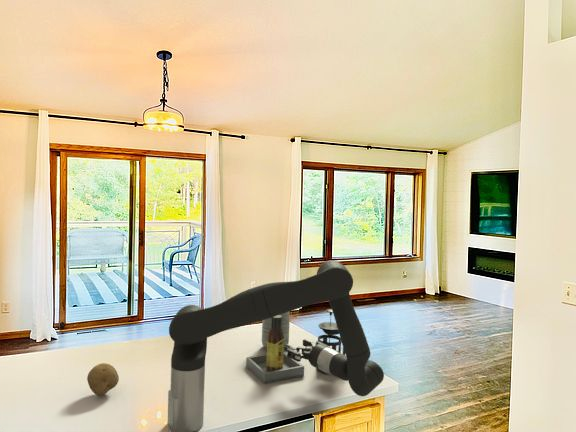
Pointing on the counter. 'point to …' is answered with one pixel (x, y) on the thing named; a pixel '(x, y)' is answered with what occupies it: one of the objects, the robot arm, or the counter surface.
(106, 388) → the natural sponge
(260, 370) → the tray
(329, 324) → the french press
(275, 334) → the sauce bottle
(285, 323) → the vase
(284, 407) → the counter surface
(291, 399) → the counter surface
